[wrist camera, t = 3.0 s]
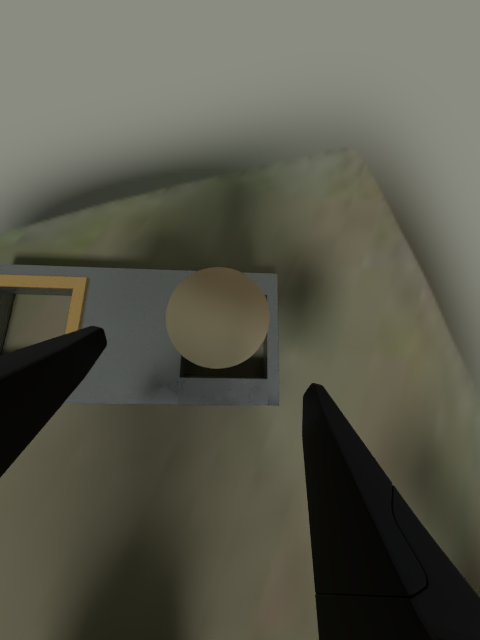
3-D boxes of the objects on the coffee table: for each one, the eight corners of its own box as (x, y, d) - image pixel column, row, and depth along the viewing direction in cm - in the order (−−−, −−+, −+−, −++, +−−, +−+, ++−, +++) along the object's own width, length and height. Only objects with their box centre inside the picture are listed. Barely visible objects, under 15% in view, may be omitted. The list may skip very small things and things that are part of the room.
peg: (238, 368, 18) (246, 386, 8) (194, 349, 18) (146, 343, 8) (256, 324, 18) (284, 290, 9) (214, 306, 19) (193, 252, 9)
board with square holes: (272, 281, 19) (277, 272, 17) (274, 399, 17) (279, 406, 15) (9, 273, 18) (-21, 262, 16) (-21, 396, 16) (-59, 402, 14)
